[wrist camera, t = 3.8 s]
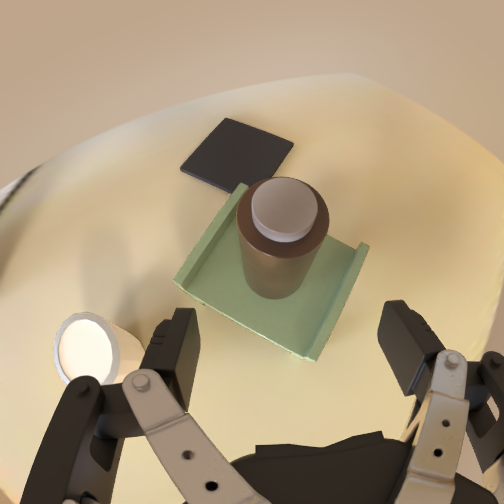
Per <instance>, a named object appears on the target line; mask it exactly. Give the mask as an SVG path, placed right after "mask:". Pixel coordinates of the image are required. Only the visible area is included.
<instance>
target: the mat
mask: <svg viewBox="0 0 504 504" xmlns="http://www.w3.org/2000/svg"><path fill="white" fill-rule="evenodd" d="M293 144H294V143H292V142H290V141H288V140H285V139H283V138H280V137H278V136H275V135H272V134H270V133H267V132H265V131H262V130H259V129H257V128H254V127H251V126H248V125H246V124H243V123H240V122H237V121H234V120H231V119H228V118H225V119H224V120H223V121H222V122H221V123H220V124H219V125H218V126H217V127H216V128H215V129H214V130H213V131H212V132H211V133H210V135H209V136H208V137H207V138H206V139H205V140H204V141H203V142H202V143H201V144H200V146H199V147H198V148H197V149H196V150H195V151H194V152H193V153H192V155H191V156H190V157H189V158H188V159H187V160H186V161H185V163H184V164H183V165H182V166H181V167H180V170H181V171H182V172H185V173H187V174H189V175H191V176H194V177H196V178H198V179H200V180H202V181H205V182H207V183H209V184H211V185H213V186H216V187H218V188H220V189H222V190H224V191H226V192H229V193H231V194H233V192H234V191H235V190H236V188H237V187H238V185H239V184H240V183H243V184H245V185H247V186H248V188H250V187H251V186H253V185H254V184H256V183H258V182H259V181H262V180H264V179H268V178H271V177H272V176H273V175H274V173H275V172H276V170H277V169H278V167H279V166H280V164H281V163H282V161H283V160H284V158H285V157H286V156H287V154H288V153H289V151H290V150H291V148H292V147H293Z"/></svg>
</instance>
